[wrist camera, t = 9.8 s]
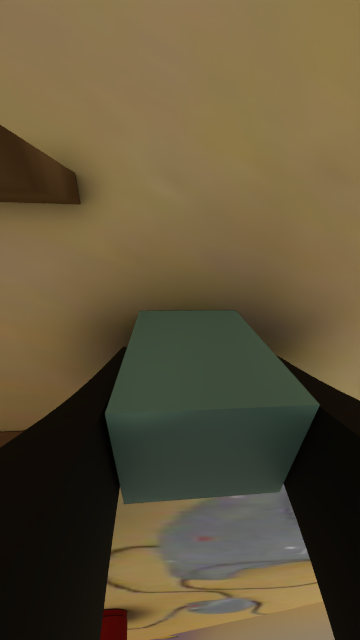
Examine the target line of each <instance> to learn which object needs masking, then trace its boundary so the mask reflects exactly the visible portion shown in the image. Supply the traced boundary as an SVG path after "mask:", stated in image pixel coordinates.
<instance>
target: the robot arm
mask: <svg viewBox="0 0 360 640" xmlns="http://www.w3.org/2000/svg"><path fill="white" fill-rule="evenodd" d="M126 350H127V347H123V348H122V349H121V350H120V351H119V352H118V353H117V354H116V355H115V356H114V357H113V358H112V359H111V360H110V361H109V362H108V363H107V364H106V365H105V366H104V367H103V368H102V369H101V370H100V371H99V372H98V373H97V374H96V375H95V376H94V377H93V378H92V379H90V380H89V381H88V382H87V383H86V384H85V385H84V386H83V387H81V388H80V389H79V390H78V391H77V392H76V393H75V394H74V395H72V396H71V397H70V398H69V399H67V400H66V401H65V402H64V403H62V404H61V405H60V406H58V407H57V408H56V409H55V410H53V411H52V412H51V413H49V414H48V415H47V416H45V417H44V418H42V419H41V420H40V421H38V422H37V423H35V424H34V425H32V426H31V427H29V428H28V429H27V430H25V431H24V432H22V433H21V434H19V435H18V436H16V437H15V438H13V439H12V440H10V441H9V442H7V443H6V444H5V445H3V446H1V447H0V640H100V636H101V627H102V619H103V611H104V602H105V594H106V585H107V577H108V570H109V562H110V554H111V546H112V539H113V531H114V524H115V517H116V509H117V502H118V495H119V489H120V483H119V478H118V473H117V469H116V464H115V459H114V455H113V450H112V445H111V441H110V436H109V431H108V427H107V422H106V417H105V412H106V409H107V406H108V403H109V400H110V397H111V394H112V391H113V388H114V385H115V382H116V379H117V376H118V374H119V371H120V368H121V365H122V362H123V359H124V356H125V353H126ZM276 356H277V355H276ZM277 357H278V358H279V359H280V360H281V362H282V363H283V364H284V365H285V366H286V367H287V368H288V369H289V371H290V372H291V373H292V374H293V375H294V376H295V377H296V378H297V380H298V381H299V382H300V383H301V384H302V385H303V386H304V387H305V388H306V390H307V391H308V392H309V393H310V394H311V395H312V396H313V397H314V399H315V400H316V401H317V402H318V403H319V404H320V406H319V408H318V410H317V412H316V414H315V416H314V418H313V421H312V423H311V425H310V427H309V429H308V431H307V434H306V436H305V438H304V440H303V442H302V444H301V446H300V449H299V451H298V453H297V455H296V457H295V459H294V461H293V464H292V466H291V468H290V470H289V472H288V474H287V477H286V479H285V481H284V486H285V489H286V491H287V494H288V497H289V500H290V502H291V505H292V508H293V511H294V513H295V516H296V519H297V522H298V525H299V528H300V531H301V534H302V537H303V540H304V543H305V546H306V548H307V551H308V554H309V557H310V560H311V563H312V566H313V570H314V573H315V576H316V579H317V582H318V586H319V589H320V592H321V595H322V598H323V601H324V604H325V608H326V611H327V614H328V618H329V621H330V624H331V628H332V631H333V635H334V638H335V640H360V401H359V400H357V399H355V398H353V397H351V396H349V395H347V394H345V393H343V392H341V391H339V390H337V389H335V388H333V387H331V386H329V385H327V384H325V383H324V382H322V381H320V380H318V379H316V378H314V377H312V376H311V375H309V374H307V373H305V372H304V371H302V370H300V369H299V368H297V367H295V366H294V365H292V364H290V363H289V362H287V361H285V360H284V359H282V358H280V357H279V356H277Z"/></svg>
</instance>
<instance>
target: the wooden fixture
mask: <svg viewBox="0 0 360 640" xmlns="http://www.w3.org/2000/svg"><path fill="white" fill-rule="evenodd" d="M0 202H24V203H56V204H80V200H79V194H78V189H77V183H76V177H75V173H74V172H72V171H71V170H69V169H68V168H66V167H65V166H63V165H61V164H60V163H58V162H57V161H55V160H54V159H52V158H51V157H49V156H48V155H46V154H45V153H43V152H41V151H40V150H38V149H37V148H35V147H34V146H32V145H31V144H29V143H28V142H26V141H24V140H23V139H21V138H20V137H18V136H17V135H15V134H14V133H12V132H11V131H9V130H7V129H6V128H4V127H3V126H1V125H0ZM22 432H24V431H15V432H0V447H1V446H3V445H5V444H6V443H7V442H9V441H10V440H12V439H13V438H15V437H16V436H18V435H19V434H21V433H22Z"/></svg>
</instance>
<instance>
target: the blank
mask: <svg viewBox="0 0 360 640" xmlns="http://www.w3.org/2000/svg"><path fill="white" fill-rule="evenodd" d="M319 406H320V404H319V403H318V402H317V401H316V400H315V399H314V397H313V396H312V395H311V394H310V393H309V392H308V391H307V390H306V388H305V387H304V386H303V385H302V384H301V383H300V382H299V381H298V380H297V378H296V377H295V376H294V375H293V374H292V373H291V372H290V371H289V369H288V368H287V367H286V366H285V365H284V364H283V363H282V362H281V360H280V359H279V358H278V357H277V356H276V355H275V354H274V353H273V352H272V350H271V349H270V348H269V347H268V346H267V345H266V344H265V343H264V341H263V340H262V339H261V338H260V337H259V336H258V335H257V334H256V332H255V331H254V330H253V329H252V328H251V327H250V326H249V325H248V324H247V322H246V321H245V320H244V319H243V318H242V317H241V316H240V315H239V313H238V312H237V311H236V310H200V311H139V314H138V317H137V320H136V323H135V326H134V329H133V332H132V335H131V338H130V341H129V344H128V347H127V350H126V353H125V356H124V359H123V362H122V365H121V368H120V371H119V374H118V376H117V379H116V382H115V385H114V388H113V391H112V394H111V397H110V400H109V403H108V406H107V409H106V412H105V417H106V422H107V427H108V431H109V436H110V441H111V445H112V450H113V455H114V459H115V464H116V469H117V473H118V478H119V483H120V487H121V492H122V497H123V501H124V504H131V503H144V502H157V501H170V500H183V499H196V498H209V497H222V496H235V495H248V494H261V493H274V492H280V489H281V487H282V485H283V483H284V481H285V479H286V477H287V474H288V472H289V470H290V468H291V466H292V464H293V461H294V459H295V457H296V455H297V453H298V451H299V449H300V446H301V444H302V442H303V440H304V438H305V436H306V434H307V431H308V429H309V427H310V425H311V423H312V421H313V418H314V416H315V414H316V412H317V410H318V408H319Z"/></svg>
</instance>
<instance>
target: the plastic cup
mask: <svg viewBox="0 0 360 640" xmlns="http://www.w3.org/2000/svg"><path fill="white" fill-rule="evenodd" d="M100 640H127V612H126V611H125V610H120V609H110V610H104V611H103V619H102V627H101V636H100Z"/></svg>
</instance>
